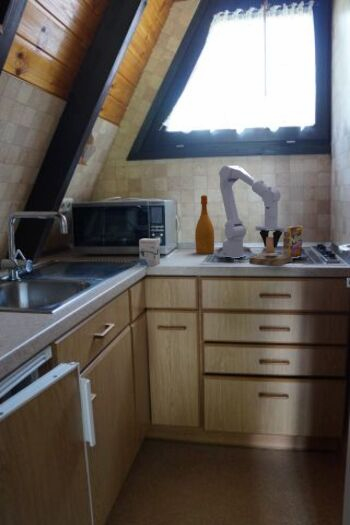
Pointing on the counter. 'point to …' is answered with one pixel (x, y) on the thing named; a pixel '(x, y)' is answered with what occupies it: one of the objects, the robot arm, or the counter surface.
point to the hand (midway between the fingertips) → (270, 246)
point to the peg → (270, 245)
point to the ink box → (149, 251)
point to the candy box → (293, 241)
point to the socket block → (270, 259)
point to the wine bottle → (204, 231)
